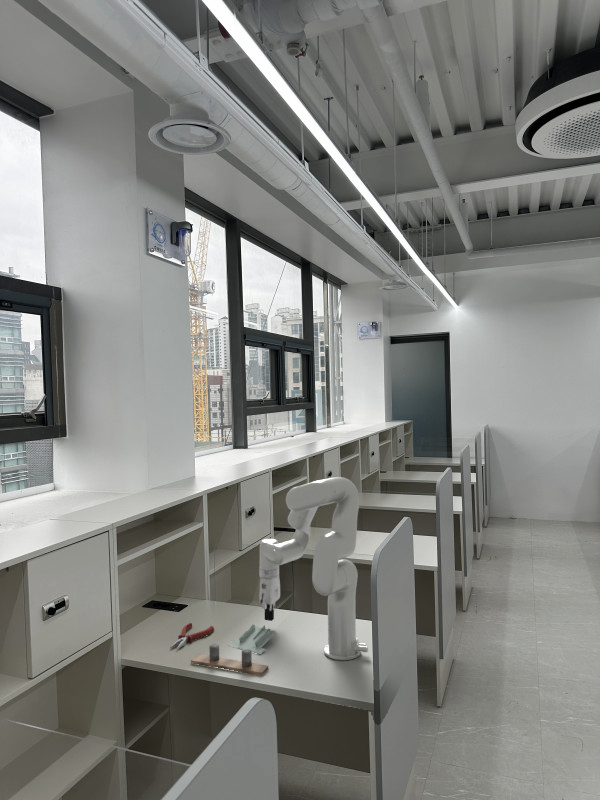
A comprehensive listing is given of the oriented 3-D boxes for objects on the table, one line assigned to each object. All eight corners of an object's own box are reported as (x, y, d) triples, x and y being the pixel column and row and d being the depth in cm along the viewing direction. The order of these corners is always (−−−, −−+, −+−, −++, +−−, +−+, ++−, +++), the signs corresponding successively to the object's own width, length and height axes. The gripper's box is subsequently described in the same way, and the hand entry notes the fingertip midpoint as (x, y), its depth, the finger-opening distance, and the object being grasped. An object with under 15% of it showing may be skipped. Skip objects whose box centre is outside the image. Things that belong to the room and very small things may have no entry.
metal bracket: (248, 618, 209) (280, 627, 201) (251, 632, 211) (283, 640, 202) (224, 642, 198) (257, 652, 190) (227, 656, 199) (260, 667, 191)
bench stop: (268, 669, 180) (268, 652, 181) (262, 676, 176) (261, 659, 176) (199, 657, 190) (198, 641, 190) (191, 663, 185) (190, 647, 185)
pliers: (159, 649, 197) (159, 642, 197) (189, 628, 216) (189, 621, 216) (187, 654, 194) (187, 646, 194) (215, 631, 212) (215, 625, 212)
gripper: (270, 579, 206) (270, 628, 206) (285, 567, 220) (285, 614, 220) (251, 576, 208) (251, 625, 208) (268, 565, 222) (268, 611, 222)
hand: (269, 619), depth 214 cm, fingers closed
